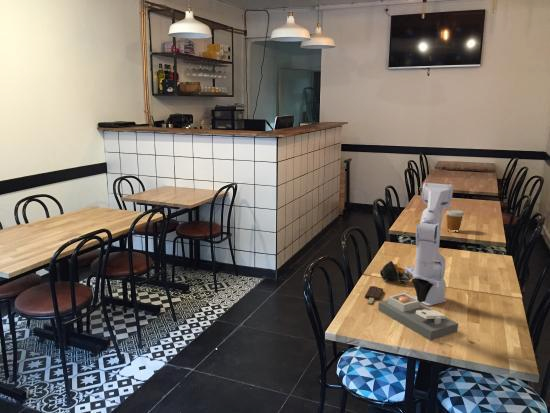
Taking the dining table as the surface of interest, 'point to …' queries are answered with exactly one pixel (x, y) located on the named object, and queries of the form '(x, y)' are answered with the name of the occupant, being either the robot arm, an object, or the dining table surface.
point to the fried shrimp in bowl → (395, 273)
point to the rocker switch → (430, 314)
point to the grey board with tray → (416, 317)
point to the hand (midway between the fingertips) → (421, 300)
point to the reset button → (404, 299)
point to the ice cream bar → (373, 294)
